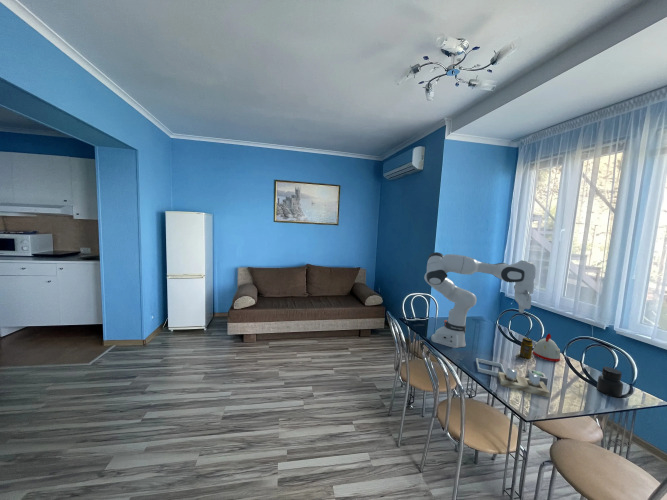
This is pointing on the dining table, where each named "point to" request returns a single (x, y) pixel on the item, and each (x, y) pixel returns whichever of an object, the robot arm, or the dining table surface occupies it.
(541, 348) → the white red dome
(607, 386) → the ink bottle
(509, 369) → the silver domed cylinder
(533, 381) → the grey metal cylinder
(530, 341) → the condiment
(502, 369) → the white square tray
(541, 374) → the button
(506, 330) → the dining table surface
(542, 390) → the frame
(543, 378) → the button housing
